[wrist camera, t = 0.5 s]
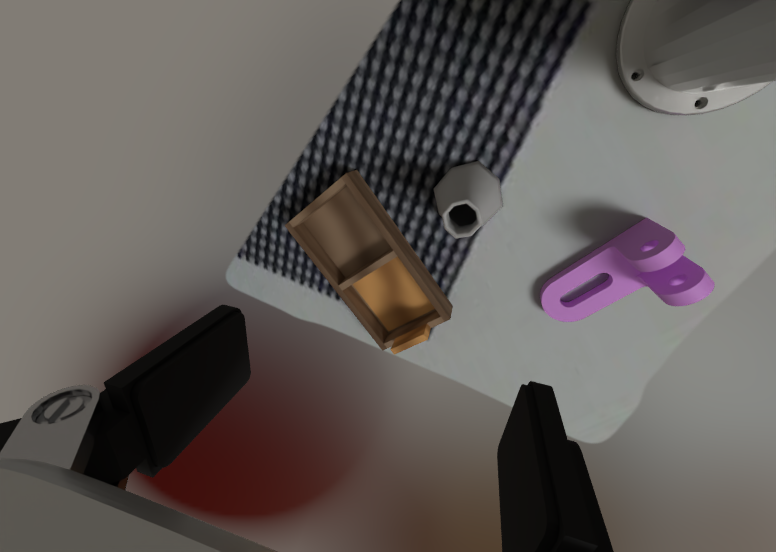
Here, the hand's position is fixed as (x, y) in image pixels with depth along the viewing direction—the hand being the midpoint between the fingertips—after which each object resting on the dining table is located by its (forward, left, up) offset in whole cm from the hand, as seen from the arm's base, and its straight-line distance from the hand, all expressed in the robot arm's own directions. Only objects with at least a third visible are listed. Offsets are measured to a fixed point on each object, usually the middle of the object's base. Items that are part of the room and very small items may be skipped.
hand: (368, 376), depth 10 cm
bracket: (-9, +15, -29) cm, 34 cm away
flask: (-2, 0, -29) cm, 29 cm away
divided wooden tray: (+12, +1, -29) cm, 31 cm away
